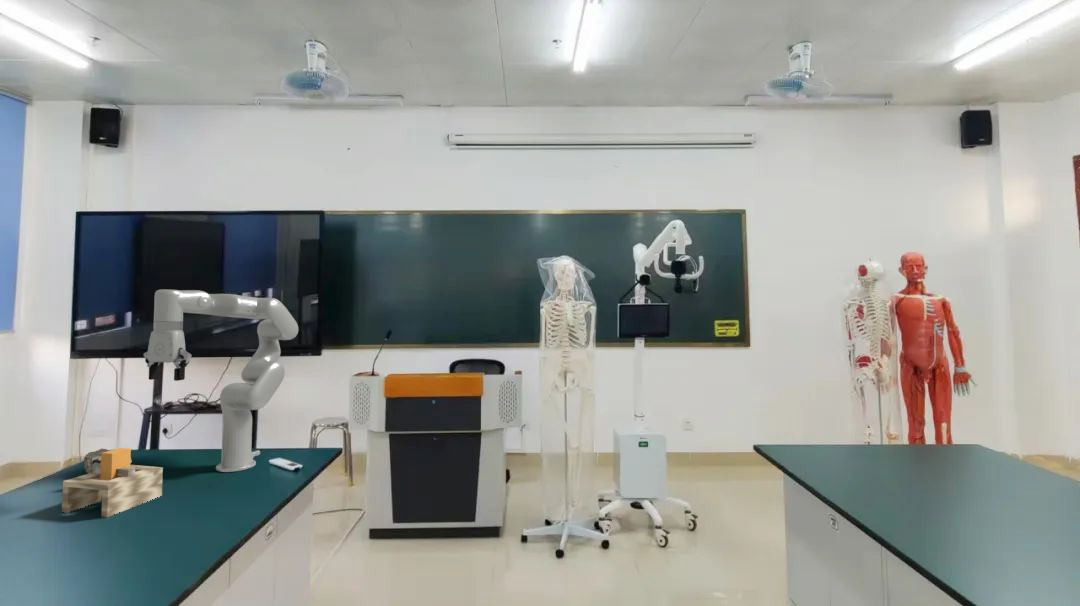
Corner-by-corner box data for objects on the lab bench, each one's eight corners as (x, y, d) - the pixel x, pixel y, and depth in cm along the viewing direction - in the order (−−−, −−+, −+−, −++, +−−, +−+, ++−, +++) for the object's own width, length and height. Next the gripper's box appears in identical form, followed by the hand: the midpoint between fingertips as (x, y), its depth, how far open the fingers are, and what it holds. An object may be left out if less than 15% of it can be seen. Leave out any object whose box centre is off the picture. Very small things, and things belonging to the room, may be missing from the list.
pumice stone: (75, 473, 168) (76, 451, 168) (117, 464, 178) (118, 443, 179) (88, 481, 161) (89, 457, 161) (132, 471, 171) (133, 449, 171)
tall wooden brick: (119, 480, 145) (120, 447, 146) (129, 481, 145) (130, 448, 145) (99, 486, 140) (101, 452, 140) (110, 487, 139) (112, 453, 140)
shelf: (120, 492, 151) (121, 457, 152) (161, 496, 149) (163, 461, 149) (61, 512, 136) (63, 474, 136) (107, 517, 133) (108, 478, 133)
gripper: (134, 327, 151) (132, 380, 151) (180, 327, 148) (178, 382, 148) (157, 326, 159) (155, 377, 158) (201, 327, 156) (199, 379, 155)
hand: (166, 379), depth 153 cm, fingers open, 9 cm apart
